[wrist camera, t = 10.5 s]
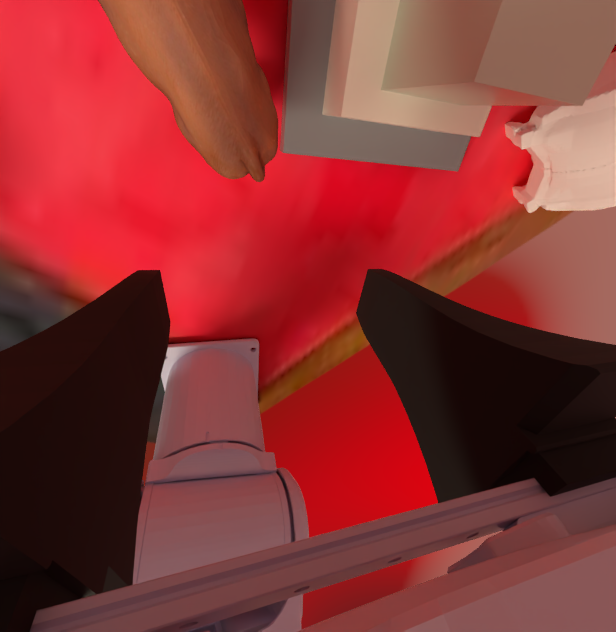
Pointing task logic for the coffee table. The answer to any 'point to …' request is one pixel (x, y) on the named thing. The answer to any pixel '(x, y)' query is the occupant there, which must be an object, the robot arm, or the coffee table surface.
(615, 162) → the white lumpy shape
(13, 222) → the coffee table surface
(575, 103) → the sage brick
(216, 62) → the bull figurine
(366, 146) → the tower base
